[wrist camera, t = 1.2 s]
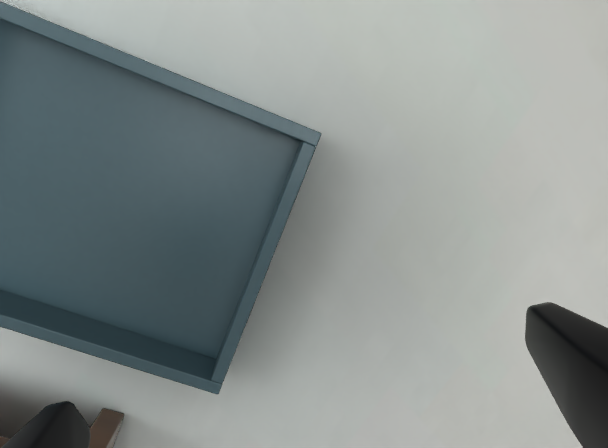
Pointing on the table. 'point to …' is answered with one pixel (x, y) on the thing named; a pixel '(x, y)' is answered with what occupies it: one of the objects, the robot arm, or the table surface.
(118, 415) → the shelf
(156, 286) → the tray
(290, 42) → the table surface
